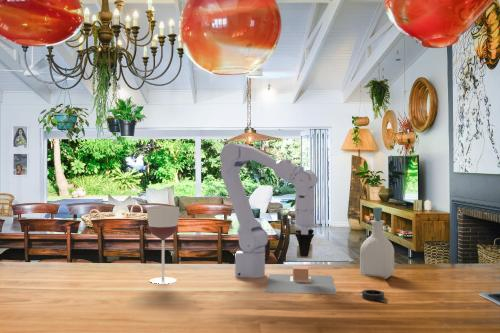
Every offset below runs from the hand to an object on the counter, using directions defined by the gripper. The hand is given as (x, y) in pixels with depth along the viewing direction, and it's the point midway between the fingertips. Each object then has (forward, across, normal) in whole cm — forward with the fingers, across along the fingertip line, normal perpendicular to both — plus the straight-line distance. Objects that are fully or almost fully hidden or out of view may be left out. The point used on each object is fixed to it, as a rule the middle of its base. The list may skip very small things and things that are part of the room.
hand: (304, 254), depth 154 cm
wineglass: (+10, 0, +44) cm, 45 cm away
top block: (+1, 0, 0) cm, 1 cm away
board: (+9, -3, +1) cm, 10 cm away
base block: (+8, +2, +1) cm, 8 cm away
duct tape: (+10, -16, -19) cm, 26 cm away
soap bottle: (+9, +15, -24) cm, 30 cm away
